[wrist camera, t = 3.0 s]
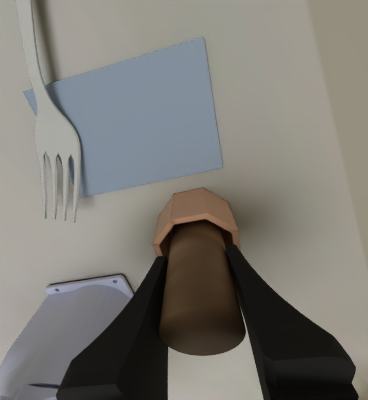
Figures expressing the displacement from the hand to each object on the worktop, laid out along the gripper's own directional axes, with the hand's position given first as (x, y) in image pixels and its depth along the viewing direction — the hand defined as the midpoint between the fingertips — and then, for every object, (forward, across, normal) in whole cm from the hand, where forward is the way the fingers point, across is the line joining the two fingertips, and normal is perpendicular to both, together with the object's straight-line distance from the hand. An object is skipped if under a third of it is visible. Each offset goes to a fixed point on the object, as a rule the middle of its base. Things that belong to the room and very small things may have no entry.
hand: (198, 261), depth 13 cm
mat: (+5, +3, -8) cm, 10 cm away
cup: (+5, 0, 0) cm, 5 cm away
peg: (+4, 0, 0) cm, 4 cm away
